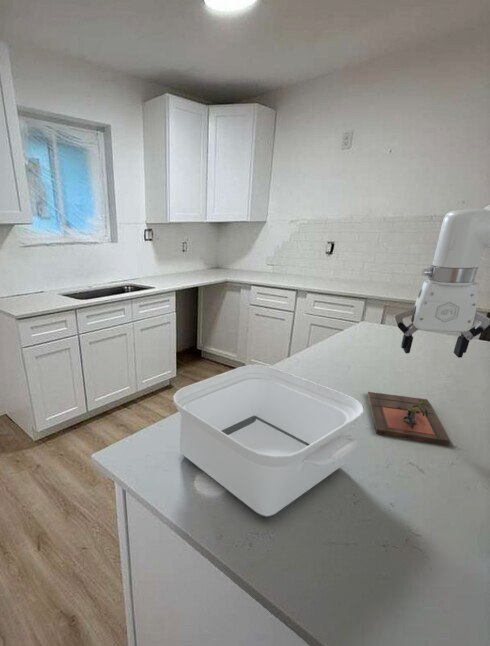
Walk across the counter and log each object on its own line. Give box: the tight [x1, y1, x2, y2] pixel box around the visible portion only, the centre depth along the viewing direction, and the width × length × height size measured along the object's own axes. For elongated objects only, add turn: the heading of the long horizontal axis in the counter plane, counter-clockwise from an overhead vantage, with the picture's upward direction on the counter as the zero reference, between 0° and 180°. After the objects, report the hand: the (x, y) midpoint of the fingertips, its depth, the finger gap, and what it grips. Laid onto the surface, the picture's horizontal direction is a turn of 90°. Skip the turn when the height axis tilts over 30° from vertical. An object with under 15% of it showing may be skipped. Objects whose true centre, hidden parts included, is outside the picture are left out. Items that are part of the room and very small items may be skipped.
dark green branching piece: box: [398, 400, 428, 429], centre depth 85 cm, size 8×6×6 cm
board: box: [366, 391, 451, 446], centre depth 89 cm, size 14×20×1 cm
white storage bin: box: [172, 364, 365, 518], centre depth 72 cm, size 34×29×15 cm
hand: (431, 353), depth 80 cm, fingers open, 9 cm apart
